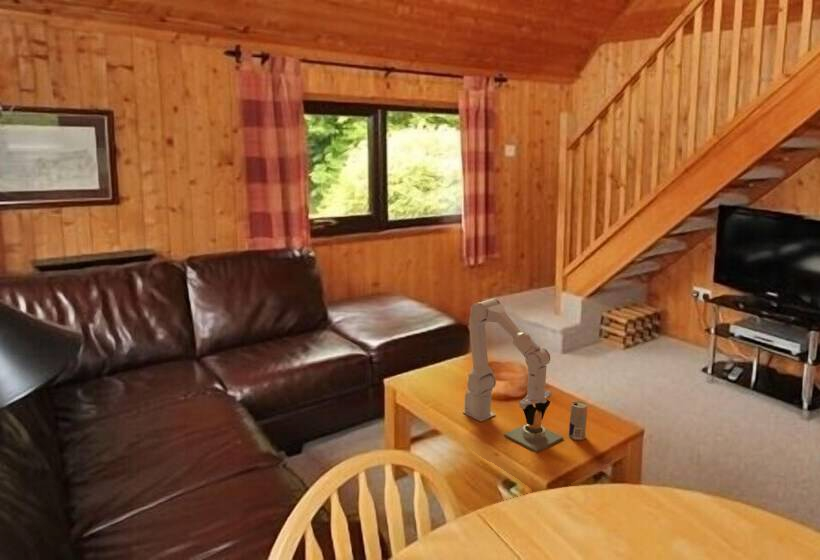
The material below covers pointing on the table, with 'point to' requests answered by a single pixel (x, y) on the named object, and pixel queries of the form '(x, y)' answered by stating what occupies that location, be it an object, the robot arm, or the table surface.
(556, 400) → the table surface
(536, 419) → the orange rounded capsule
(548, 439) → the gray board
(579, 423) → the energy drink
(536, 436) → the segmented brown ring
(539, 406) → the robot arm
